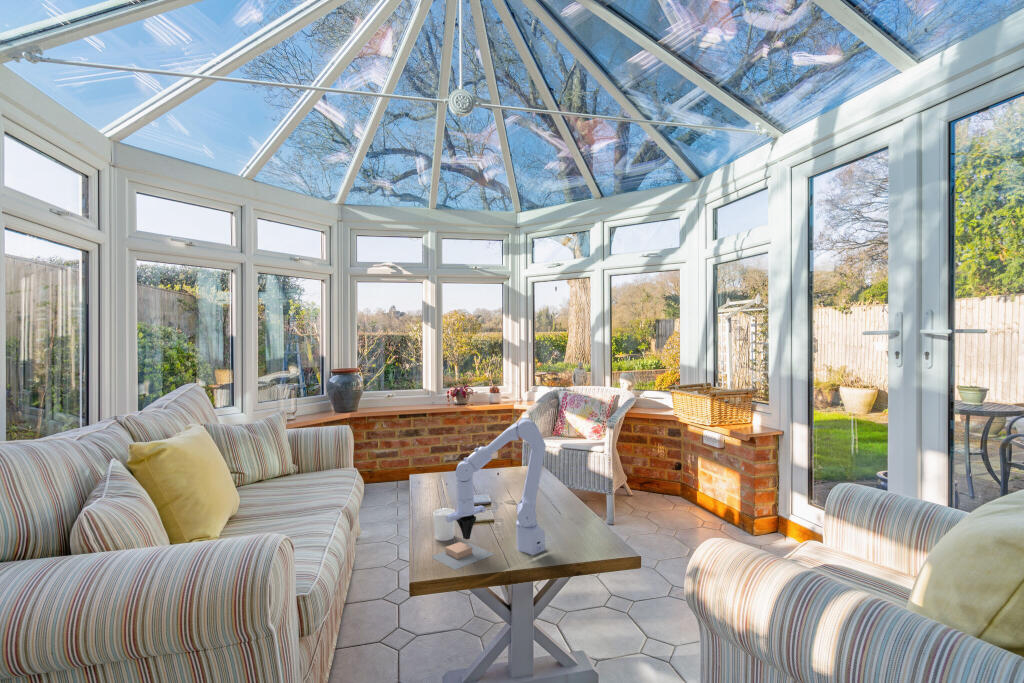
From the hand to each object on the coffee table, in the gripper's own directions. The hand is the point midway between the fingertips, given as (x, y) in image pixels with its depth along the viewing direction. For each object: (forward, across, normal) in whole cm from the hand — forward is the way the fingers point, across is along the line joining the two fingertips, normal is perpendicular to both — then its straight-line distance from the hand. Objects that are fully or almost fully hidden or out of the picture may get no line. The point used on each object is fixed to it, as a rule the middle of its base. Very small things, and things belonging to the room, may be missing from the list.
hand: (466, 538), depth 165 cm
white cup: (+5, -2, -16) cm, 17 cm away
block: (+3, 0, 0) cm, 3 cm away
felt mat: (+5, +3, +2) cm, 6 cm away
